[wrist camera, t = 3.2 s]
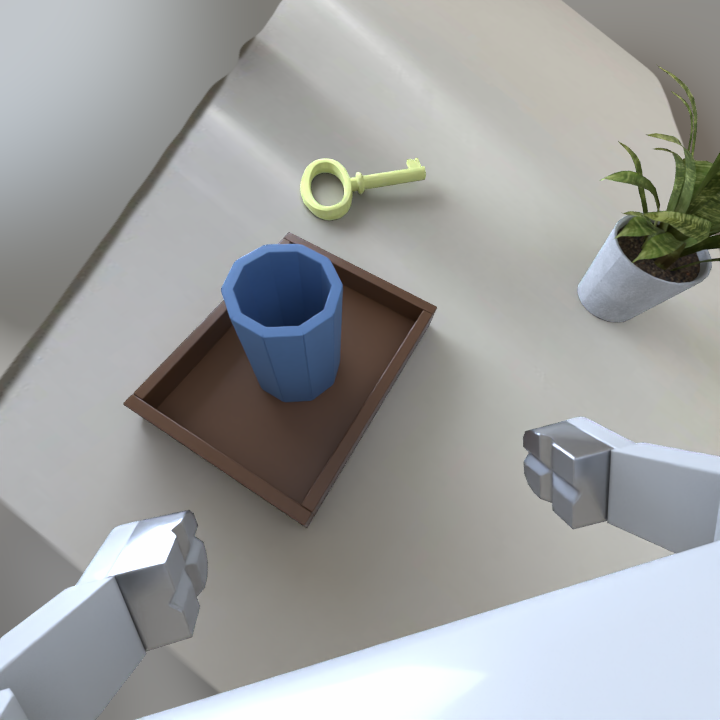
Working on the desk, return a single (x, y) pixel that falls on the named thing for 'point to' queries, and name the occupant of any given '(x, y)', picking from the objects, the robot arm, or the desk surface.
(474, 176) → the desk surface
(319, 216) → the key
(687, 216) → the house plant
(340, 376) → the tray
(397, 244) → the desk surface
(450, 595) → the desk surface
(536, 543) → the desk surface
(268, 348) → the blue faceted tube
